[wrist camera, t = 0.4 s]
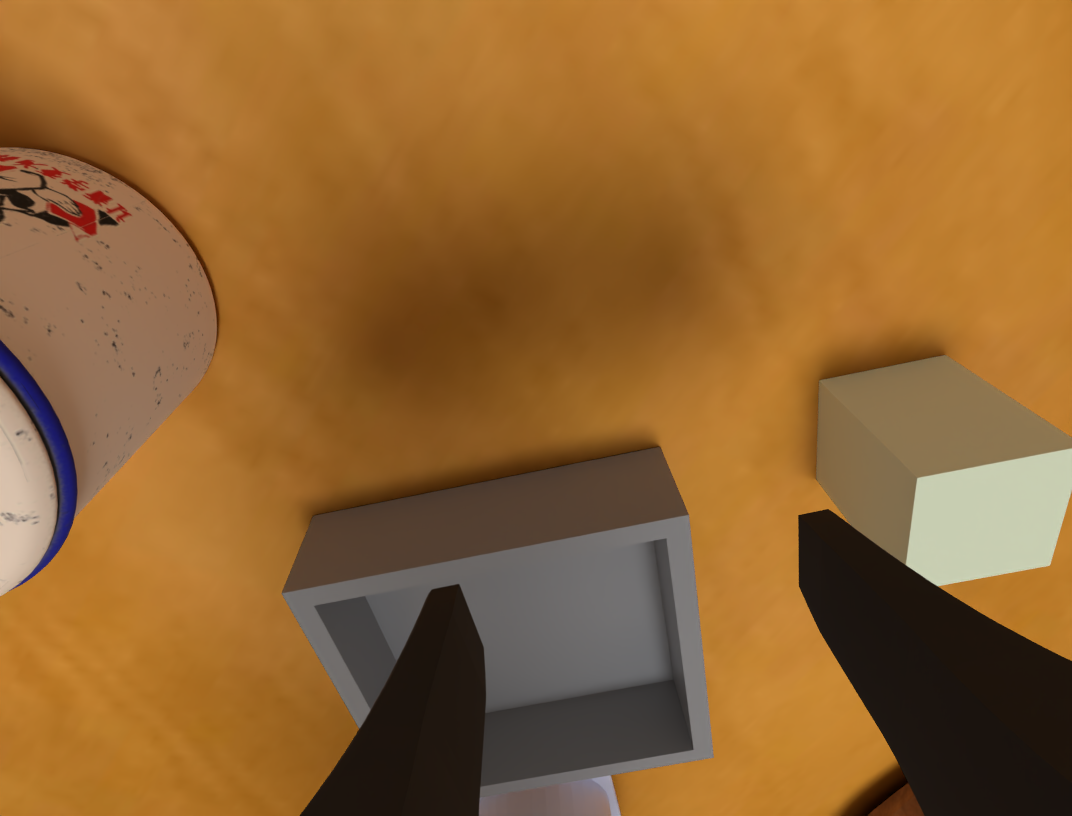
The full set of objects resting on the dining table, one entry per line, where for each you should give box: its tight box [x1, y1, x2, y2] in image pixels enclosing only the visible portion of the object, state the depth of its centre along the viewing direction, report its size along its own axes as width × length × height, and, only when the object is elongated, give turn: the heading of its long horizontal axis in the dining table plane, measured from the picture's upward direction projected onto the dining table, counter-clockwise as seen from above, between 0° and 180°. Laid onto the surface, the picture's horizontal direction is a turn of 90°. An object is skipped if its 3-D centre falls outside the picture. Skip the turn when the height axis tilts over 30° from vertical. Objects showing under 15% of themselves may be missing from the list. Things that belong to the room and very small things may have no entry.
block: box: [816, 355, 1072, 586], centre depth 21 cm, size 4×4×6 cm
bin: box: [282, 447, 714, 798], centre depth 25 cm, size 14×14×4 cm
